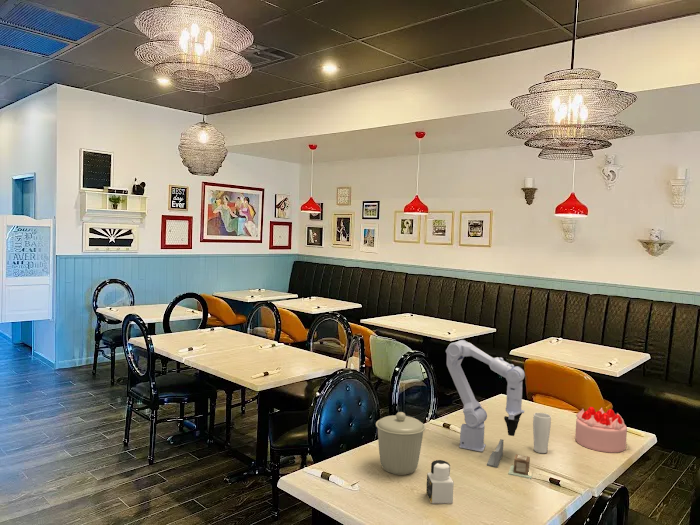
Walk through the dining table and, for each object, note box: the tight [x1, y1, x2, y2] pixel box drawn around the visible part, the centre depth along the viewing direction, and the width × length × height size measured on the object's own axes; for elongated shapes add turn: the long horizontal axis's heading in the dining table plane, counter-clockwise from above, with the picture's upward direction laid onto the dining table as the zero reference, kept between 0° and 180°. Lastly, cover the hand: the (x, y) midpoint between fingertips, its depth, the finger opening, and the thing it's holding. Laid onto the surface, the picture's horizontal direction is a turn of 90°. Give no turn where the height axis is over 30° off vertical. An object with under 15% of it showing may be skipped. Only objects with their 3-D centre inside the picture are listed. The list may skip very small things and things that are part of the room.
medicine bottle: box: [426, 459, 454, 504], centre depth 174 cm, size 7×7×12 cm
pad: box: [507, 464, 533, 480], centre depth 196 cm, size 8×8×1 cm
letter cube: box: [513, 453, 531, 475], centre depth 196 cm, size 5×5×5 cm
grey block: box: [486, 438, 505, 469], centre depth 207 cm, size 4×14×6 cm, turn 156°
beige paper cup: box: [532, 412, 552, 454], centre depth 217 cm, size 7×7×15 cm
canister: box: [375, 411, 426, 476], centre depth 195 cm, size 18×18×21 cm
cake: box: [574, 406, 628, 454], centre depth 228 cm, size 20×20×14 cm
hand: (512, 432), depth 210 cm, fingers open, 7 cm apart
